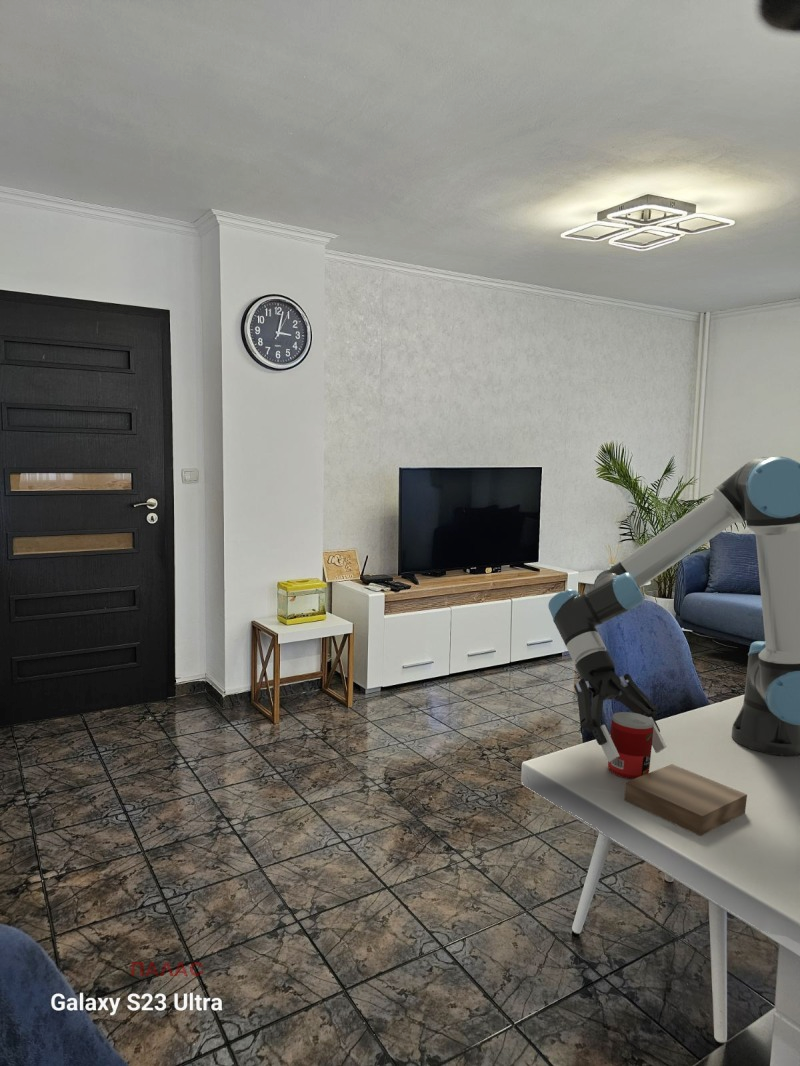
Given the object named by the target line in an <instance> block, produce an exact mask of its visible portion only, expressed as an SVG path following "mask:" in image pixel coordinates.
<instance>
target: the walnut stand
mask: <svg viewBox="0 0 800 1066" xmlns="http://www.w3.org/2000/svg"><path fill="white" fill-rule="evenodd" d="M747 798H748V794H747V793H745V792H743V791H739V790H737V789H734V788H732V787H729V786H727V785H724V784H722V783H720V782H718V781H715V780H712V779H710V778H707V777H705V776H702V775H700V774H697V773H695V772H693V771H690V770H689V769H685V768H683V767H680V766H677V765H675V764H668V765H666V766H663V767H660V768H658V769H656V770H653V771H651V772H650V771H649V773H648V774H645V775H642V776H640V777H637V778H635V779H629V780H627V781H626V782H625V787H624V798H623V799H624V801H625V802H627V803H630V804H631V805H633V806H635V807H638V808H640V809H642V810H644V811H646V812H648V813H651V814H653V815H655V816H657V817H660V818H662V819H664V820H665V821H668V822H669V823H672V824H674V825H676V826H678V827H681V828H683V829H684V830H687V831H689V832H691V833H693V834H696V835H697V836H700V837H701V836H704V835H705V834H707V833H708V832H711V831H712V830H715V829H717V828H719V827H721V826H722V825H724V824H726V823H728V822H730V821H733V820H735V819H736V818H738V817H740V816H742V815H744V814H746V810H747V809H746V807H747V801H748V800H747Z"/></svg>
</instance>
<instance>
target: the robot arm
mask: <svg viewBox="0 0 800 1066" xmlns="http://www.w3.org/2000/svg"><path fill="white" fill-rule="evenodd" d="M735 523H738V524H743V523H746V527H747V528H748V529H749V530H751V531H752V532H753V533H754V534H755V542H756V543H755V544H756V552H757V553H756V554H757V555H756V556H757V565H758V566H757V567H758V575H759V577H758V578H759V586H760V589H759V590H760V597H761V598H760V599H761V609H762V619H763V632H764V641H763V640H762V641H761V640H757V641H753V642H752V643H751V644H750V646H749V652H748V653H747V656H748V659H747V667H746V668H747V669H746V676H745V677H746V678H745V688H744V695H743V697H744V698H743V705H742V707H741V708H740V710H739V712H738V714H737V716H736V719H735V720H734V721H733V724H732V726H731V727H732V728H731V738H732V739H733V740H734V741H735V742H737V743H738V744H739V745H742V746H744V747H746V748H748V749H751V750H753V751H757V752H761V753H764V754H768V755H769V754H771V755H775V754H776V756H784V755H789V757H790V755H794V756H800V755H799V754H800V462H798V461H796V460H794V459H792V458H789V457H787V456H786V457H785V456H771V457H770V456H764V457H763V456H762V457H757V458H754V459H752V460H750V461H748V462H746V463H745V464H744V465H743V466H742V465H741V467H740V468H739V469H738V470H736V471H735V472H734V473H733V474H732V475H730V476H729V477H728V478H727V479H725V480H724V481H723V482H722V483H720V484H719V485H717V486H716V487H715V488H714V489H713V493H712V496H710V497H709V498H708V499H706V500H705V501H703V502H701V503H700V504H699V505H698V506H696V507H695V508H693V509H692V510H691V511H689V512H687V514H685V515H684V516H682V517H680V518H679V519H678V520H677V521H675V522H674V523H672V524H671V525H670V526H668V527H666V529H663V530H662V531H660V533H658V534H657V535H655V536H654V537H652V538H651V539H649V540H648V541H647V542H645V543H644V544H643V545H641V546H640V547H639V548H637V549H635V550H634V551H633V552H631V553H630V554H629V555H627V556H626V557H625V558H623V559H621V560H620V561H619V562H618V563H616V564H614V565H613V566H612V567H610V568H609V569H604V570H603V571H601V572H600V573H599V574H598V575H597V576H596V578H595V579H594V582H593V588H592V589H590V590H588V591H586V592H584V593H579V591H577V590H576V589H566V590H564V591H563V590H562V591H560V592H558V593H556V594H555V595H553V596H552V597H551V598H550V600H549V601H548V604H547V605H548V610H549V612H550V614H551V617H552V621H553V623H554V625H555V627H556V629H557V631H558V633H559V634H560V637H561V639H562V642H563V643H564V645H565V647H566V649H567V651H568V653H569V655H570V658H571V660H572V662H573V663H574V664H575V668H576V669H575V670H576V671H577V673H578V675H579V677H580V679H579V680H578V681H577V682H576V683H575V684H574V686H573V688H574V690H575V694H576V695H577V704H578V705H577V706H578V707H577V708H578V714H579V725H580V728H581V729H583V730H584V729H586V731H587V732H588V733H591V732H592V735H593V736H594V738H595V741H596V743H597V744H598V746H601V749H602V751H603V753H604V755H605V757H606V759H607V763H608V762H612V761H614V760H615V759H616V758H618V757H619V754H618V751H617V749H616V747H615V745H614V743H613V741H612V739H611V737H610V732H609V731H608V728H607V727H606V724H601V723H602V716H603V709H604V701H606V700H615V701H616V702H620V703H621V704H622V705H624V706H625V707H626V708H627V709H628V710H630V711H631V713H637V714H641V715H644V716H647V717H649V718H650V719H652V720H653V722H654V728H653V739H652V748H653V750H654V752H655V754H657V753H660V752H662V751H663V750H664V749H666V748H668V746H667V745H666V741H664V738H663V736H662V734H661V733H660V732H661V729H660V727H659V726H658V723H657V722H656V719H655V716H656V715H657V714H658V713H659V709H658V707H657V706H656V705H655V704H654V703H653V702H652V701H651V699H650V698H649V697H648V696H647V695H646V694H645V693H644V692H643V691H642V690H641V688H640V687H638V685H636V683H635V682H634V680H633V679H632V676H631V674H629V673H625V674H624V675H622V676H619V675H618V674H617V673H616V671H615V668H616V665H615V662H614V661H613V659H612V657H611V655H610V653H609V652H608V651H607V647H606V645H605V643H604V640H603V638H602V637H601V634H600V633H599V632H598V629H597V626H600V625H602V624H604V623H606V622H608V621H610V620H612V619H614V618H616V617H618V616H620V615H623V614H625V613H626V612H629V611H632V610H633V609H635V608H636V607H638V606H640V605H641V604H643V603H644V602H645V597H644V594H643V592H642V591H641V588H642V587H644V586H645V585H647V584H648V583H649V582H651V581H652V580H654V579H656V578H657V577H658V576H659V575H661V574H662V573H664V572H666V570H668V569H669V568H671V567H672V566H675V564H677V563H678V562H680V561H681V560H683V559H684V558H686V557H687V556H689V555H690V554H691V553H693V552H694V551H696V550H697V549H699V548H700V547H702V546H703V545H704V544H706V543H708V542H709V541H710V540H712V539H713V538H715V537H716V536H718V535H719V534H720V533H722V532H723V531H725V530H726V529H728V528H729V527H731V526H732V525H734V524H735ZM590 692H591V696H590Z"/></svg>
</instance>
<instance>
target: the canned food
mask: <svg viewBox="0 0 800 1066" xmlns="http://www.w3.org/2000/svg"><path fill="white" fill-rule="evenodd" d="M653 728H654V722H653V720H652V719H650V718H649V717H647V716H644V715H641V714H637V713H633V712H632V711H631V712H630V711H620V712H615V713H612V716H611V722H610V732H609V735H610V737H611V739H612V741H613V743H614V745H615V747H616V749H617V751H618V754H619V757H618V758H616V759H615V760H614V761H612V762H608V761H607V767H608V770H609V771H610V772H611V773H612V774H614V775H616V776H618V777H619V778H621V777H622V778H625V779H629V780H632V779H635V778H637V777H640V776H642V775H645V774H648V773H650V765H651V758H652V757H651V755H652V748H653V746H652V739H653Z"/></svg>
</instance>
